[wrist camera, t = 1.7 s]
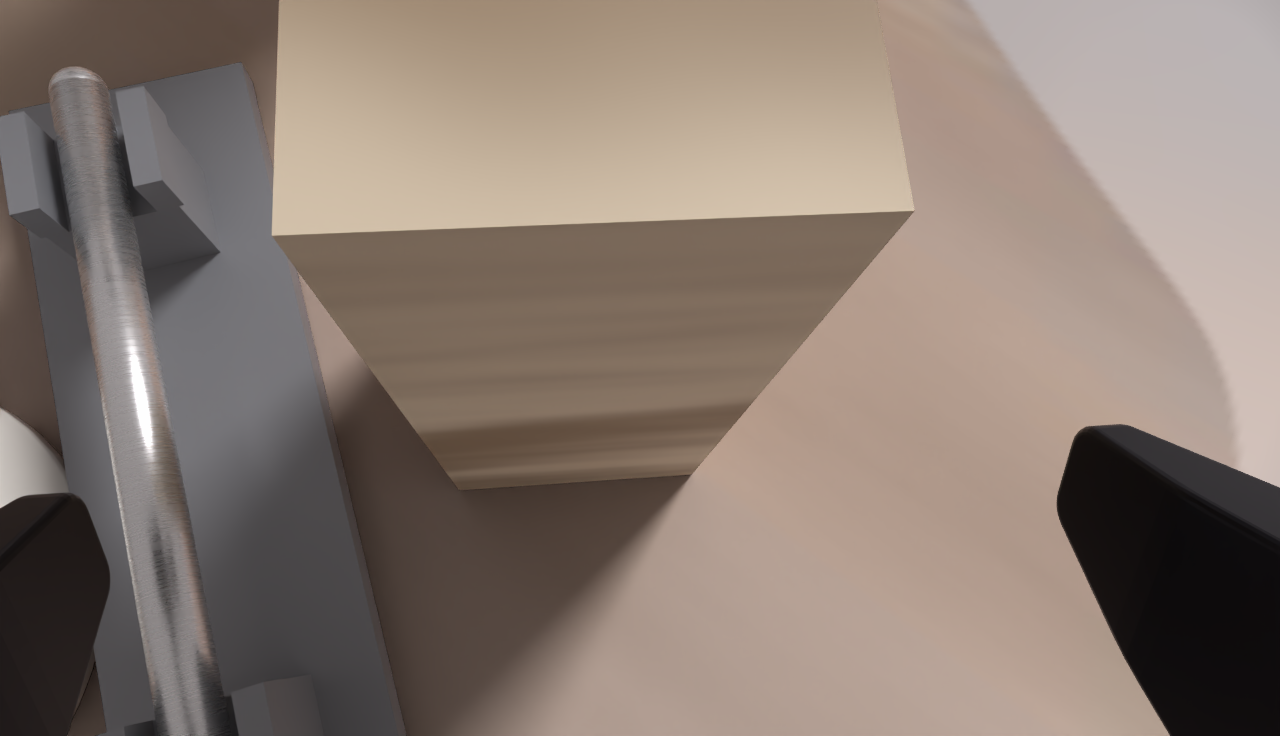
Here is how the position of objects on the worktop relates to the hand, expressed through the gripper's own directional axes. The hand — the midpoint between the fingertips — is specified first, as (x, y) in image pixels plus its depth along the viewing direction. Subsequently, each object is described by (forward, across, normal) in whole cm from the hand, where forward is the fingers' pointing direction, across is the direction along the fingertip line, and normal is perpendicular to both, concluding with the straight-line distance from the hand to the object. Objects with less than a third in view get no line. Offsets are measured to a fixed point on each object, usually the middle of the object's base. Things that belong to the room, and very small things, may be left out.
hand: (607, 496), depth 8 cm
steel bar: (+7, +7, +4) cm, 11 cm away
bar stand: (+10, +7, +6) cm, 14 cm away
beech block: (+11, 0, +5) cm, 12 cm away
